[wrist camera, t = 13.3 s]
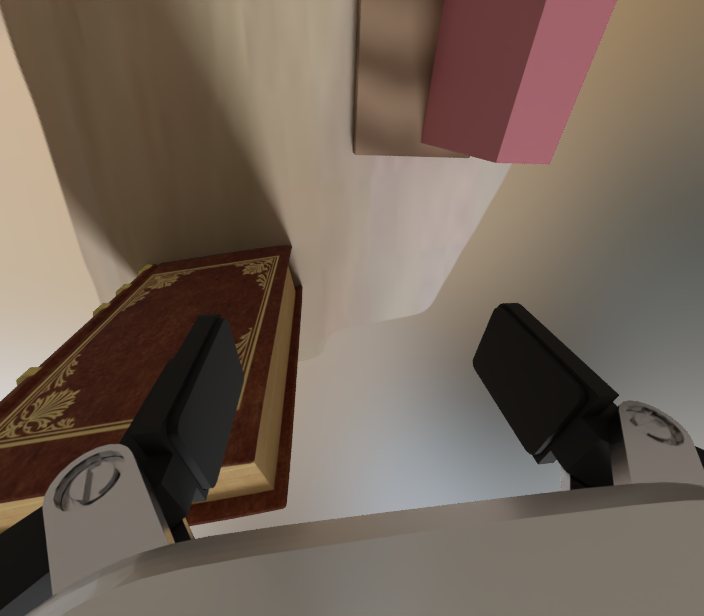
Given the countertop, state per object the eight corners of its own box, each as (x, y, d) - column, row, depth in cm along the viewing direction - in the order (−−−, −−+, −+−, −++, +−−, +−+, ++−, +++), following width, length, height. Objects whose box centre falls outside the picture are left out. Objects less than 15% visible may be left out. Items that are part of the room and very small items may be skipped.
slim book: (446, -16, 24) (597, -167, 11) (488, -12, 25) (679, -151, 12) (421, 142, 31) (496, 162, 18) (453, 144, 32) (549, 164, 19)
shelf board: (360, -58, 24) (363, -71, 22) (509, -40, 25) (522, -51, 23) (353, 152, 33) (355, 154, 31) (462, 155, 34) (469, 157, 33)
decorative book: (163, 311, 43) (-37, 568, 18) (133, 266, 38) (-189, 532, 14) (303, 289, 43) (288, 511, 19) (291, 242, 38) (250, 458, 14)
